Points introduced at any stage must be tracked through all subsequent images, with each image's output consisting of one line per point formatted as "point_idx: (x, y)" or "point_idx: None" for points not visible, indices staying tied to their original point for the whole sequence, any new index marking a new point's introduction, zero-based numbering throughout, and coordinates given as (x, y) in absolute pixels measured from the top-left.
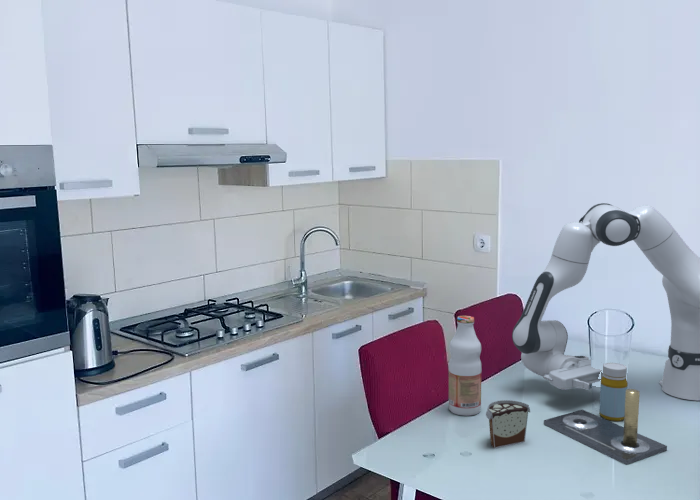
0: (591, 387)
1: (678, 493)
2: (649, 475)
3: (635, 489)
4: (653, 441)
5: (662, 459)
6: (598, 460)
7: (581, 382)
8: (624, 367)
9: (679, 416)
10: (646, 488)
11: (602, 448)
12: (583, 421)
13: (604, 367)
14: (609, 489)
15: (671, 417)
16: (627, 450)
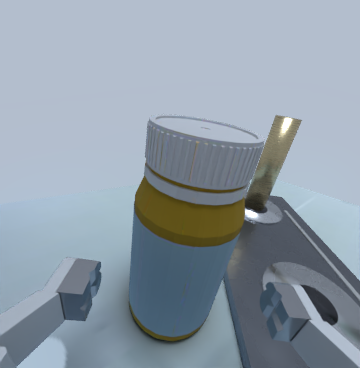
0: (263, 293)
1: None
2: None
3: (293, 187)
4: None
5: None
6: (313, 220)
7: (336, 335)
8: (177, 118)
9: (45, 212)
10: (282, 184)
11: (302, 220)
12: None
13: (263, 145)
14: (321, 196)
15: (63, 218)
16: (268, 201)
